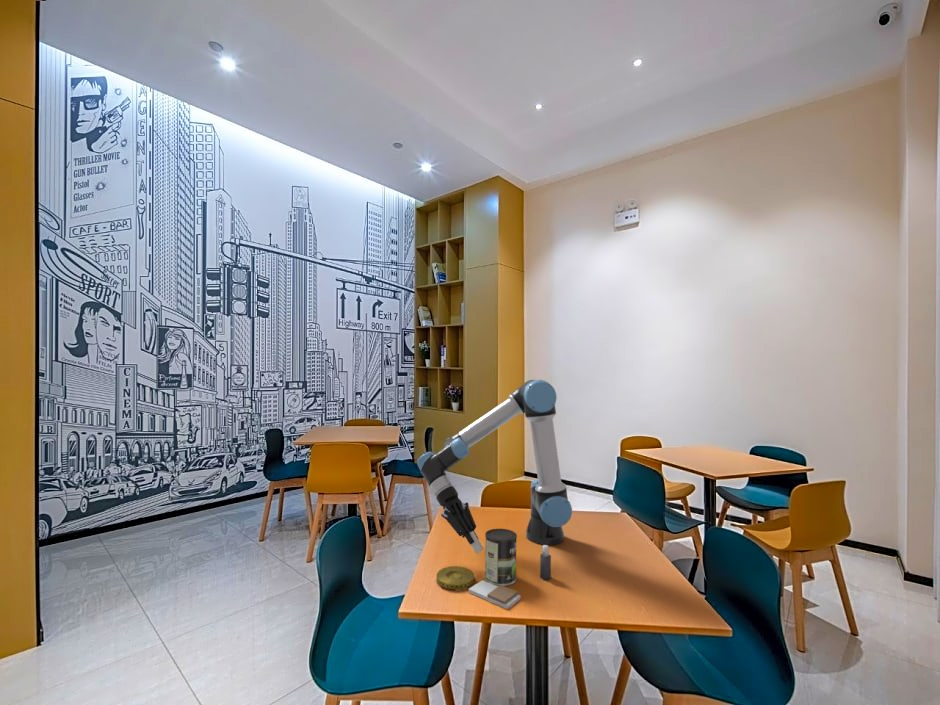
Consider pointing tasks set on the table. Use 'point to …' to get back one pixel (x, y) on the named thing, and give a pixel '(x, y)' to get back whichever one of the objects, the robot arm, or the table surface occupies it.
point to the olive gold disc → (455, 578)
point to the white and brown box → (495, 594)
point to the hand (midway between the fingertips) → (479, 551)
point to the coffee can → (500, 557)
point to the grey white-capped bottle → (545, 564)
